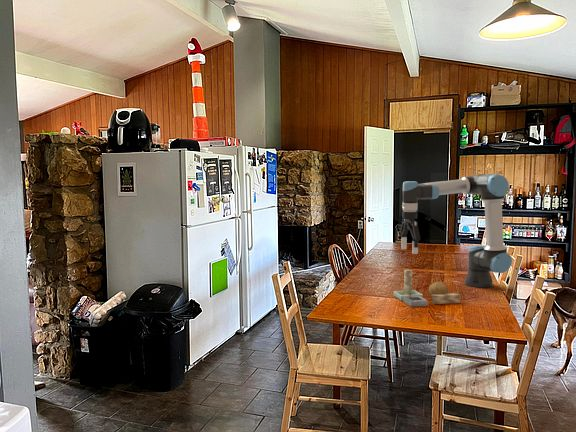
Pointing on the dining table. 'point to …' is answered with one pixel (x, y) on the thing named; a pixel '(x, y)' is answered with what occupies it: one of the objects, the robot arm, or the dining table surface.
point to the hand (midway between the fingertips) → (409, 251)
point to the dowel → (407, 282)
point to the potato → (438, 288)
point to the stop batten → (445, 298)
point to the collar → (415, 301)
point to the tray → (401, 294)
